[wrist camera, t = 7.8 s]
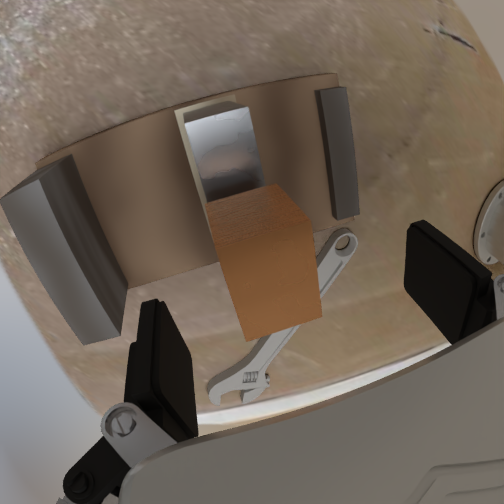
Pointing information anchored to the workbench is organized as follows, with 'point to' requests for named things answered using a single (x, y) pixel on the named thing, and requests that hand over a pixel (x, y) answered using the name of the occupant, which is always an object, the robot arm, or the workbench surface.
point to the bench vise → (170, 195)
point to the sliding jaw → (253, 225)
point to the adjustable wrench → (255, 364)
